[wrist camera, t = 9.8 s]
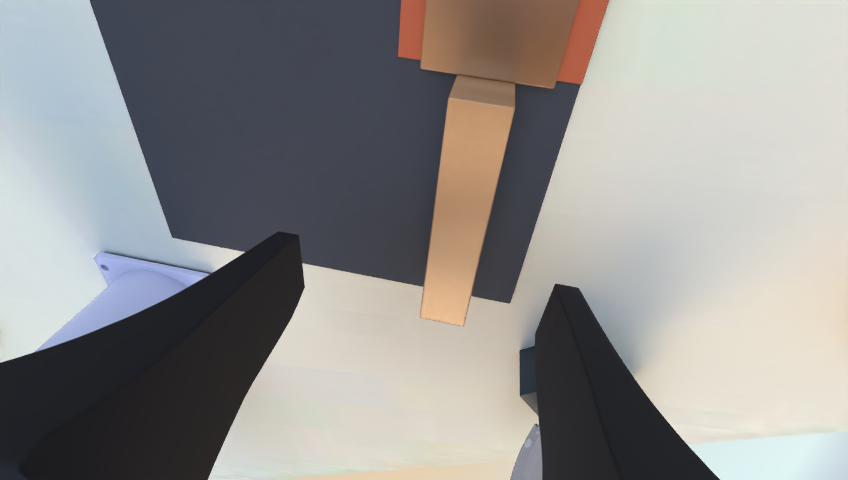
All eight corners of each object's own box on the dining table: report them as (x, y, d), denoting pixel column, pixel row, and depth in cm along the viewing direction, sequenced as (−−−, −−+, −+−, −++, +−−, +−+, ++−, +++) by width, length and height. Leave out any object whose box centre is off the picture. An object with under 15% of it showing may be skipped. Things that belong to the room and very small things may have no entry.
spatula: (447, -221, 11) (429, -255, 9) (634, -203, 11) (665, -234, 9) (404, 271, 23) (391, 312, 21) (495, 289, 23) (492, 332, 20)
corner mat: (510, 299, 23) (510, 306, 23) (175, 234, 25) (169, 239, 24) (662, -176, 12) (667, -180, 11) (12, -242, 13) (-3, -246, 13)
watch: (661, 376, 25) (737, 618, 16) (537, 405, 29) (546, 613, 20) (622, 317, 23) (686, 561, 14) (494, 357, 26) (482, 567, 18)
